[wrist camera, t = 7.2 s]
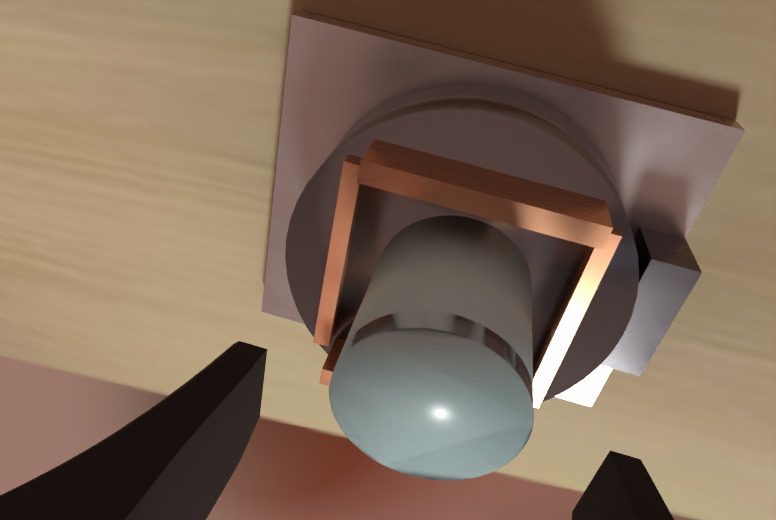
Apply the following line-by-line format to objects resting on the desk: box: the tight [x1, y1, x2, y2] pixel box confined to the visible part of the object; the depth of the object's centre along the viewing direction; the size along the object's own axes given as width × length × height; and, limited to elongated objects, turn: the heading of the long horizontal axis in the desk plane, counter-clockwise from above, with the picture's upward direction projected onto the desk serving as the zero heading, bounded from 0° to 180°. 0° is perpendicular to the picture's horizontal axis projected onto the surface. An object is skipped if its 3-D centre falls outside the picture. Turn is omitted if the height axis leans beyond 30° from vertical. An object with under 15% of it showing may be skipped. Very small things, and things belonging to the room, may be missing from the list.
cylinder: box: [329, 215, 534, 480], centre depth 15 cm, size 4×4×5 cm
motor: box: [262, 11, 745, 408], centre depth 18 cm, size 13×11×5 cm
